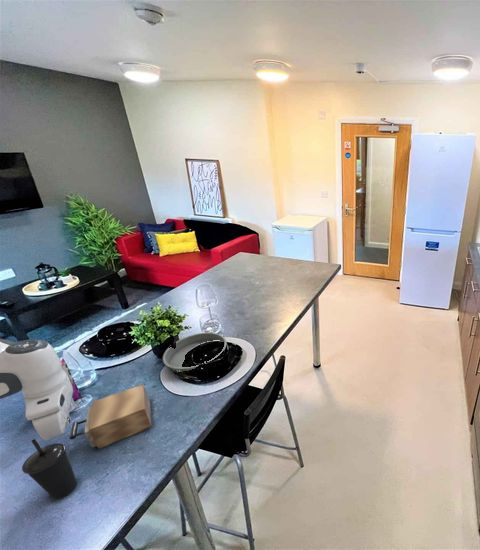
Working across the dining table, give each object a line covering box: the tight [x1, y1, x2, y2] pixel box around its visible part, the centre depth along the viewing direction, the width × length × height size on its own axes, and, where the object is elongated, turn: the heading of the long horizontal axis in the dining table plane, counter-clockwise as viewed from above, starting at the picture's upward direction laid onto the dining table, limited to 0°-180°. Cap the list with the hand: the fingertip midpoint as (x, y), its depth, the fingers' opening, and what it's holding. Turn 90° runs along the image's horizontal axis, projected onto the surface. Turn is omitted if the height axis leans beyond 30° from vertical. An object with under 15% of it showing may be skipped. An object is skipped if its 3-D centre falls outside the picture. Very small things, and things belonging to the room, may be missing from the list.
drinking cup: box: [21, 438, 78, 500], centre depth 75 cm, size 8×8×20 cm
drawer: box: [69, 405, 97, 448], centre depth 94 cm, size 17×11×7 cm
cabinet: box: [89, 384, 152, 450], centre depth 96 cm, size 14×13×9 cm
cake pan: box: [162, 332, 228, 373], centre depth 128 cm, size 25×25×4 cm
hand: (66, 424), depth 87 cm, fingers closed
